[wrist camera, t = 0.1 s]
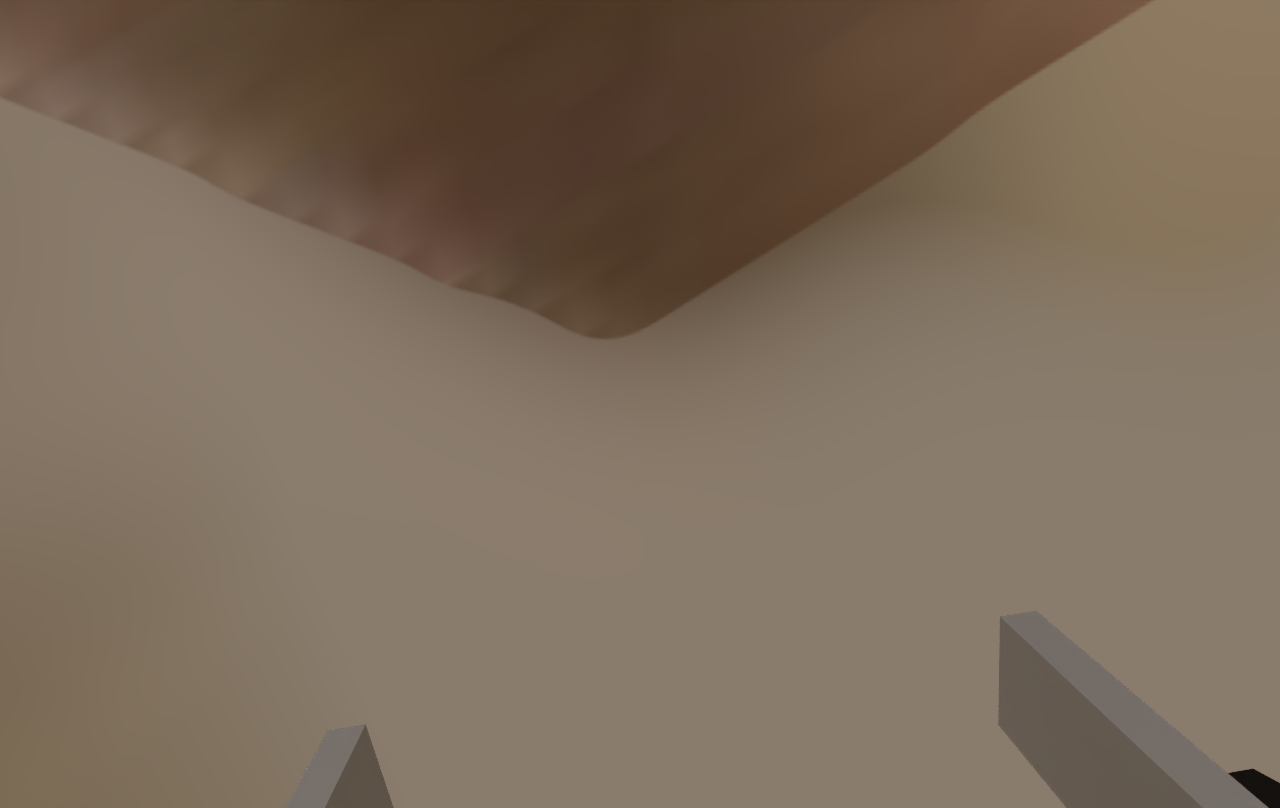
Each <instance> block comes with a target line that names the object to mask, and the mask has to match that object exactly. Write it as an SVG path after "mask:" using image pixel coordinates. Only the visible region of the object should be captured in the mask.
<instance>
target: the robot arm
mask: <svg viewBox="0 0 1280 808" xmlns="http://www.w3.org/2000/svg"><path fill="white" fill-rule="evenodd" d="M998 725H999V726H1000V727H1001V728H1002V730H1003V731H1004V732H1005V733H1006V735H1007V736H1008V737H1009V738H1010V739H1011V741H1012V742H1013V743H1014V744H1015V745H1016V747H1017V748H1018V749H1019V750H1020V752H1021V753H1022V754H1023V755H1024V757H1025V758H1026V759H1027V760H1028V761H1029V763H1030V764H1031V765H1032V766H1033V768H1034V769H1035V770H1036V771H1037V772H1038V774H1039V775H1040V776H1041V777H1042V779H1043V780H1044V781H1045V782H1046V783H1047V785H1048V786H1049V787H1050V788H1051V790H1052V791H1053V792H1054V793H1055V794H1056V796H1057V797H1058V798H1059V799H1060V801H1061V802H1062V803H1063V804H1064V805H1065V806H1066V808H1280V783H1278V782H1277V781H1275V780H1273V779H1271V778H1269V777H1267V776H1265V775H1264V774H1262V773H1260V772H1258V771H1256V770H1255V769H1249V770H1243V771H1237V772H1232V773H1227V772H1226V771H1225V770H1223V769H1222V768H1221V767H1220V766H1219V765H1217V764H1216V763H1215V762H1214V761H1213V760H1211V759H1210V758H1209V757H1208V756H1207V755H1206V754H1205V753H1203V752H1202V751H1201V750H1200V749H1199V748H1198V747H1196V746H1195V745H1194V744H1193V743H1192V742H1190V741H1189V740H1188V739H1187V738H1186V737H1185V736H1183V735H1182V734H1181V733H1180V732H1179V731H1178V730H1176V729H1175V728H1174V727H1173V726H1172V725H1170V724H1169V723H1168V722H1167V721H1166V720H1165V719H1163V718H1162V717H1161V716H1160V715H1159V714H1157V713H1156V712H1155V711H1154V710H1153V709H1152V708H1150V707H1149V706H1148V705H1147V704H1146V703H1145V702H1143V701H1142V700H1141V699H1140V698H1139V697H1137V696H1136V695H1135V694H1134V693H1133V692H1132V691H1130V690H1129V689H1128V688H1127V687H1126V686H1125V685H1123V684H1122V683H1121V682H1120V681H1119V680H1118V679H1116V678H1115V677H1114V676H1113V675H1111V674H1110V673H1109V672H1108V671H1107V670H1106V669H1105V668H1103V667H1102V666H1101V665H1100V664H1099V663H1098V662H1096V661H1095V660H1094V659H1093V658H1091V657H1090V656H1089V655H1088V654H1087V653H1085V651H1083V650H1082V649H1081V648H1080V647H1079V646H1077V645H1076V644H1075V643H1074V642H1073V641H1072V640H1070V639H1069V638H1068V637H1067V636H1066V635H1065V634H1063V633H1062V632H1061V631H1060V630H1059V629H1058V628H1056V627H1055V626H1054V625H1053V624H1052V623H1050V622H1049V621H1048V620H1047V619H1046V618H1045V617H1043V616H1042V615H1041V614H1040V613H1039V612H1037V611H1030V612H1025V613H1019V614H1013V615H1007V616H1002V617H1000V659H999V724H998ZM285 808H393V805H392V802H391V799H390V796H389V793H388V790H387V787H386V784H385V781H384V778H383V775H382V772H381V769H380V766H379V763H378V761H377V758H376V754H375V751H374V748H373V745H372V742H371V740H370V736H369V733H368V730H367V727H366V725H360V726H354V727H348V728H342V729H336V730H330V731H327V733H326V735H325V737H324V739H323V740H322V742H321V744H320V746H319V747H318V749H317V751H316V753H315V755H314V756H313V758H312V760H311V762H310V763H309V765H308V767H307V769H306V771H305V772H304V774H303V776H302V778H301V779H300V782H299V783H298V785H297V787H296V788H295V790H294V792H293V794H292V796H291V797H290V799H289V801H288V803H287V804H286V806H285Z"/></svg>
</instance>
